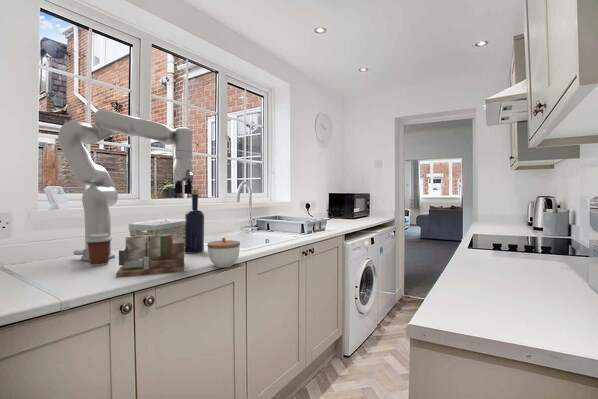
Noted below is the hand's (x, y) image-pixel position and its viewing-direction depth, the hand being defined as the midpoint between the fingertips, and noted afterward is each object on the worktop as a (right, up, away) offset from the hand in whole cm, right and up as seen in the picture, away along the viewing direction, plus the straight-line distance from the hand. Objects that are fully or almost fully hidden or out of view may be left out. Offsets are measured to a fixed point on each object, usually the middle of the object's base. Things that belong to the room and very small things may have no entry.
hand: (183, 193), depth 144 cm
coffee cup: (-28, -29, -15) cm, 43 cm away
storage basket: (-17, -28, +14) cm, 36 cm away
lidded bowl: (+22, -29, -17) cm, 40 cm away
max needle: (-2, -27, -30) cm, 41 cm away
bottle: (+2, -28, +10) cm, 30 cm away
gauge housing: (-3, -29, -24) cm, 38 cm away
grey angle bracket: (-9, -27, -27) cm, 40 cm away
